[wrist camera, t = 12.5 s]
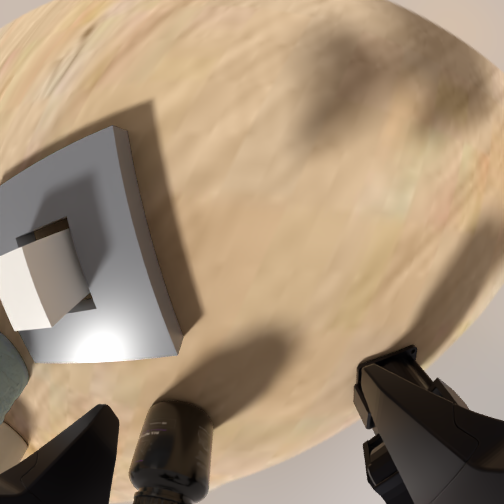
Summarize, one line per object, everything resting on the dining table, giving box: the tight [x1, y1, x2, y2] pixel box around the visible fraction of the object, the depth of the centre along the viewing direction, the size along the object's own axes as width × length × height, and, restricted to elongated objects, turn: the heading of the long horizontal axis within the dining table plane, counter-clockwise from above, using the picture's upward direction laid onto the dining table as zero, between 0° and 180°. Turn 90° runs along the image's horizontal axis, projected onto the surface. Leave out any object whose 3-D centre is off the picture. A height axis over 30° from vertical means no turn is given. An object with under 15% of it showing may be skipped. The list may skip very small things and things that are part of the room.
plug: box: [0, 228, 90, 331], centre depth 15 cm, size 4×5×7 cm
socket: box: [0, 125, 183, 363], centre depth 17 cm, size 16×16×2 cm
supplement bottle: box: [129, 401, 213, 504], centre depth 17 cm, size 7×7×12 cm
